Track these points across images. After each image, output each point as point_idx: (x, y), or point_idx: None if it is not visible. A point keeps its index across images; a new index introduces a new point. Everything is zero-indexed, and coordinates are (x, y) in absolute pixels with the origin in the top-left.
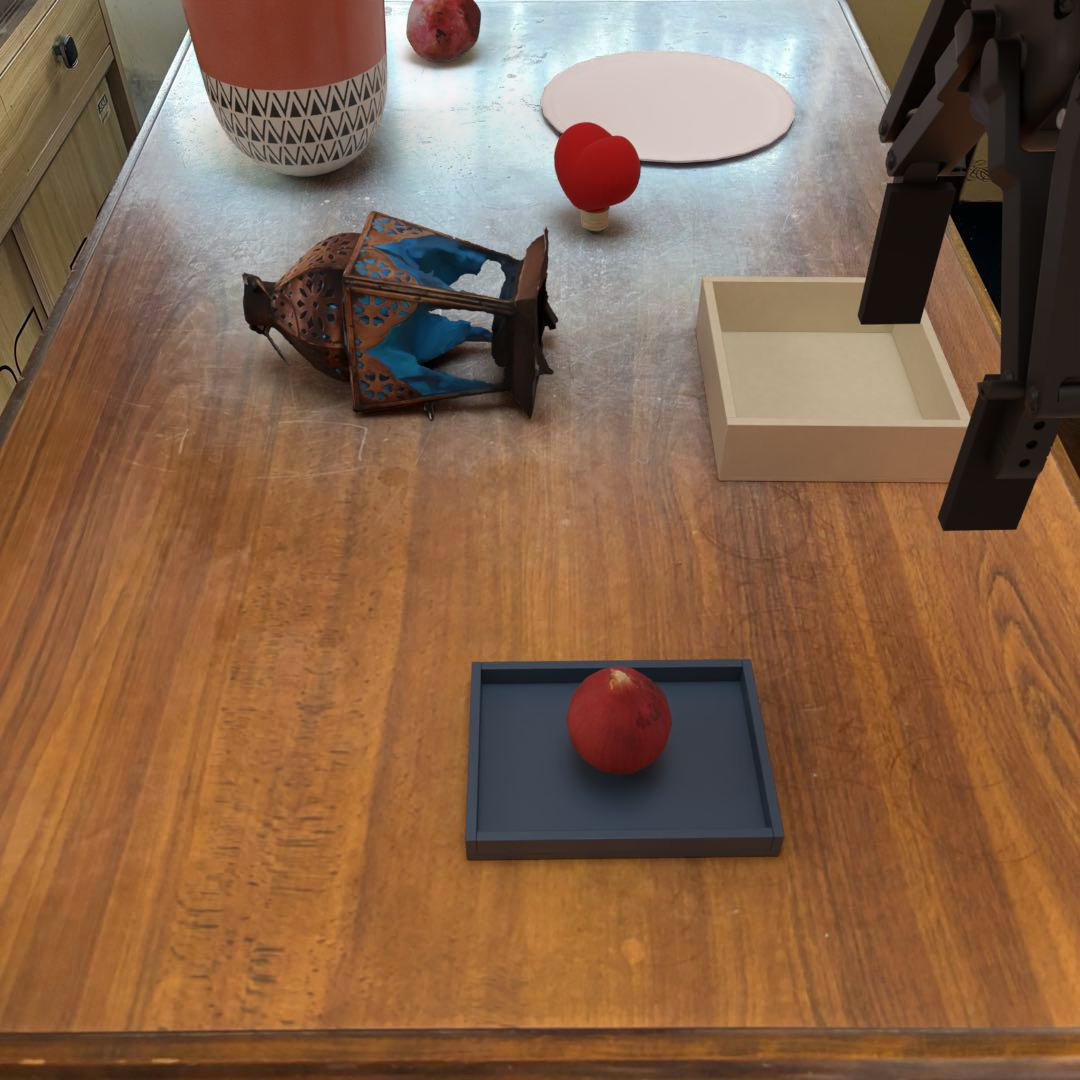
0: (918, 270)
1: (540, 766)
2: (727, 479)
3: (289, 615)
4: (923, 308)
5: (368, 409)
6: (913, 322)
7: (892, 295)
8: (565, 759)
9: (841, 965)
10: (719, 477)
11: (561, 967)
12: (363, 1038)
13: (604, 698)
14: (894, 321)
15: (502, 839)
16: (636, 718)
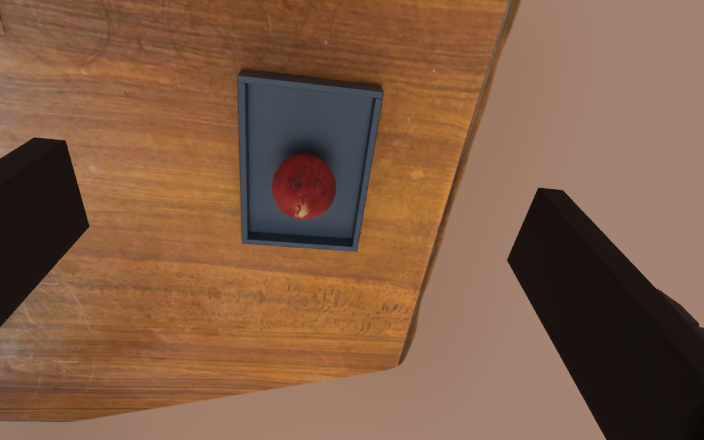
0: (2, 223)
1: None
2: (1, 25)
3: (199, 310)
4: (46, 154)
5: None
6: (66, 152)
7: (47, 223)
8: None
9: (453, 67)
10: (2, 33)
11: (417, 206)
12: (427, 277)
13: (309, 214)
14: (74, 185)
15: (359, 236)
16: (323, 196)
